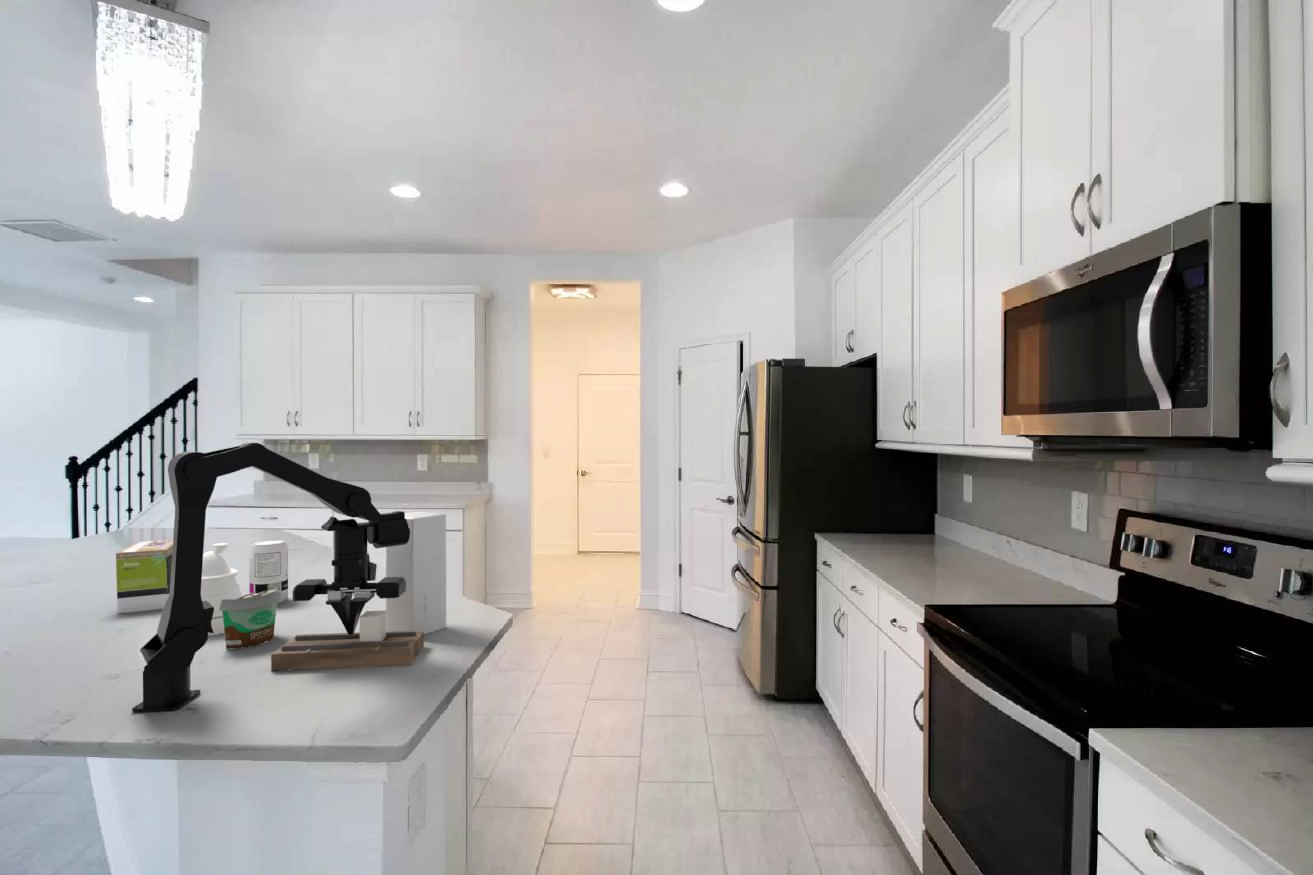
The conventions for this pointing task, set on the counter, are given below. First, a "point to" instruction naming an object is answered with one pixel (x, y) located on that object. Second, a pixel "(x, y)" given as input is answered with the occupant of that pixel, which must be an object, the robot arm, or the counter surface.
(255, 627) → the food container
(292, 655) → the slider track
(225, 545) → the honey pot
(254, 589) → the supplement can
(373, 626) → the slider tab
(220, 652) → the counter surface
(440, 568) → the tall white carton
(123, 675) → the counter surface
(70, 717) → the counter surface
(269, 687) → the counter surface
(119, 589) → the tea box
